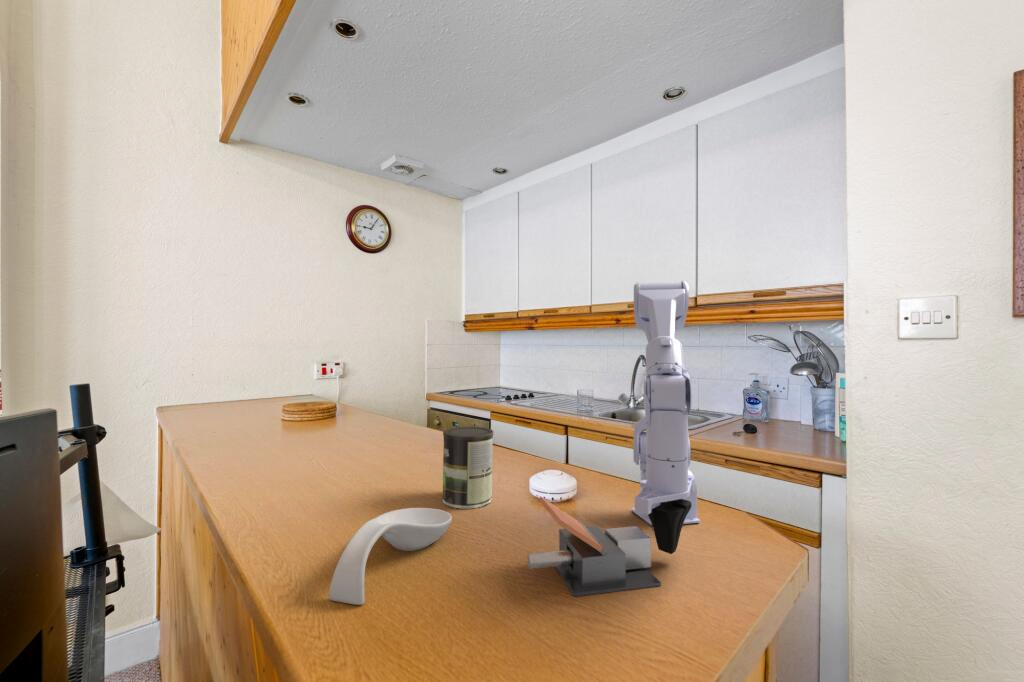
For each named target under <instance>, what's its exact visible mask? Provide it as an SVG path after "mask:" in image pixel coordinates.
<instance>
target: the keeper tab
mask: <svg viewBox="0 0 1024 682" xmlns="http://www.w3.org/2000/svg"><path fill="white" fill-rule="evenodd" d="M538 501H539V503H540V504H541V505H542V506H543V508H544V509H545V510H546V511H547V512H548V513H549V515H550V517H551V518H553V519H554V521H555V522H556V523H557V525H559V526H560V527H562V529H564V528H565V529H566V530H568V531H569V532H571V533H572V534H574V535H575V536H577V537H578V538H580V539H581V540H583V541H584V542H586V543H587V544H589V545H590V546H592V547H593V548H595V549H596V550H598V551H599V552H600V553H601V554H602V555H603V556H606V555H607V554H608V550H607V549H606V548H605V547H604V546H603V545H602V544H601V543H600V542H599V541H598V540H597V539H596V538H595V537H594V535H593V534H592V533H591V532H590V531H589V530H588V529H587V528H586V527H587V526H586V525H584V524H583V523H582V522H581V521H580V520H577V519H575V518H574V517H572V516H571V515H569V514H568V513H567V512H565V511H563V510H562V509H560V508H559V507H557V506H556V505H554V504H553V503H551V502H550V501H548V499H546V498H544V497H543V496H539V498H538Z"/></svg>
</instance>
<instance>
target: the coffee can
mask: <svg viewBox="0 0 1024 682" xmlns="http://www.w3.org/2000/svg"><path fill="white" fill-rule="evenodd" d="M442 437H443V453H442V454H443V457H442V459H443V460H442V462H443V463H442V468H443V469H442V471H443V472H442V499H441V501H443V502H442V504H443V503H444V505H445V504H446V505H447V506H446V505H445V506H446V507H448V506H450V507H449V508H452V507H453V508H452V509H456V508H459V509H460V510H472V509H471V508H475V509H479V508H478V507H480V508H483V507H482V506H484V505H486V504H488V503H490V502H492V501H493V496H492V495H493V490H492V489H493V442H494V441H493V440H494V439H493V438H494V430H493V429H491V428H487V427H481V426H460V427H452V428H448V429H444V430H443V433H442ZM491 500H492V501H491ZM490 504H491V503H490ZM488 505H489V504H488ZM486 506H487V505H486ZM484 507H485V506H484ZM459 509H458V510H459Z"/></svg>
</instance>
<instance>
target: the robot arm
mask: <svg viewBox="0 0 1024 682" xmlns="http://www.w3.org/2000/svg"><path fill="white" fill-rule="evenodd" d="M689 304H690V287H689V284H688V283H687V282H686V281H685V280H681V281H668V282H667V281H664V282H663V281H661V282H636V283H635V284H633V313H634V323H635V328H638V329H639V330H641V331H642V332H644V333H645V336H646V340H647V344H646V346H645V377H644V378H643V409H644V410H643V411H644V416H643V417H642V418H640V419H639V420H638V421H636V422H635V425H634V426H633V427H634V428H633V431H634V433H633V450H632V451H633V453H632V455H633V463H634V464H635V465H636V466H639V469H640V481H639V486H640V492H639V494H637V495H635V496H634V507H631V510H630V511H632V512H633V513H634V514H635V515H637V516H638V517H640V518H641V519H642V520H643V521H644V522H647V524H649V525H651V526H652V529H653V533H654V537H655V541H656V544H657V548H658V550H659V551H661V552H664V553H667V554H669V555H672V554H674V553H676V551H677V548H678V543H679V540H680V537H681V532H682V527H683V525H686V524H696V523H700V522H701V520H700V518H698V485H697V484H698V483H697V481H696V477H695V476H694V473H693V472H692V471H691V470H690V469H689V467H690V465H691V458H692V457H691V453H692V452H691V441H690V437H689V436H690V434H689V427H688V426H689V425H688V424H689V422H688V421H689V417H688V415H691V410H692V405H693V404H692V403H693V389H692V388H693V387H692V381H691V378H690V374H689V372H688V369H686V366H685V364H686V363H685V355H684V354H685V353H684V346H683V345H682V342H681V341H680V340H678V339H676V338H675V335H676V334H675V332H676V331H678V330H680V329H681V328H684V327H685V322H686V321H687V314H688V311H689ZM686 411H687V414H686Z"/></svg>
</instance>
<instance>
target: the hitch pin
mask: <svg viewBox="0 0 1024 682" xmlns="http://www.w3.org/2000/svg"><path fill="white" fill-rule="evenodd" d="M604 533H605V534H606V535H607V536H608V537H609V538H610V539H611V540H612V541H613V542H614V543H615V544H616V545H617V546H618V547H619V548H620V549H621V550H622V551H623V552H624V553H626V570H629V569H638V568H646V569H648V568H651V567H652V538H651V537H650V536H649V535H648V534H647V533H645V532H644V531H643V530H642V529H640V528H639V527H638V526H637V525H635V526H633V525H632V526H624V527H612V528H604ZM526 557H527V559H526V560H527V566H528V569H529V570H531V569H532V570H533V569H540V568H541V569H542V568H550V567H555V566H561V565H571V564H573V552H572V550H562V551H559V550H556V551H555V550H552V551H545V552H544V551H543V552H535V553H533V552H532V553H528V554H527V556H526Z"/></svg>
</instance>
